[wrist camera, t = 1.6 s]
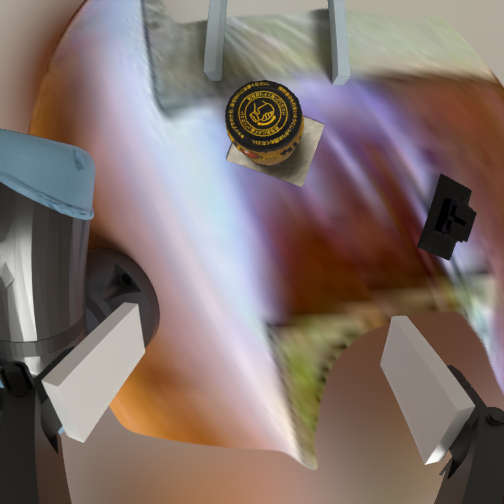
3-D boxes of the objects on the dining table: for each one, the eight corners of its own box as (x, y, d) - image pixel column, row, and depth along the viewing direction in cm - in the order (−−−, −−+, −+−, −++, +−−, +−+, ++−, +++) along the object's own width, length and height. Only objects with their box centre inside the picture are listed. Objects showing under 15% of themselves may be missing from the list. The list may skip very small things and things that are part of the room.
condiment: (249, 98, 29) (233, 57, 17) (324, 125, 29) (351, 96, 17) (226, 160, 31) (197, 151, 19) (301, 187, 31) (316, 193, 19)
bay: (210, 81, 28) (203, 71, 25) (218, -13, 25) (213, -27, 22) (342, 85, 27) (350, 76, 24) (336, -9, 24) (340, -24, 21)
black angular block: (436, 158, 29) (456, 157, 24) (477, 182, 29) (498, 184, 24) (405, 255, 32) (421, 266, 28) (448, 272, 32) (466, 284, 28)
